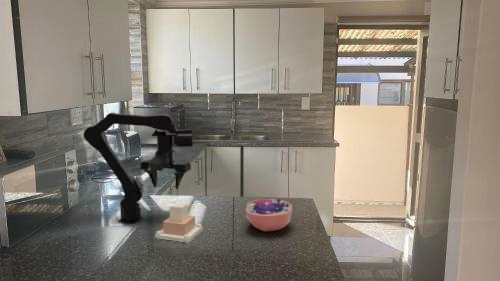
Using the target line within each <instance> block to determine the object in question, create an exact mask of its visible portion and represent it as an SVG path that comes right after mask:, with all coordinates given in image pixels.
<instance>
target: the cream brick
mask: <svg viewBox="0 0 500 281" xmlns="http://www.w3.org/2000/svg"><path fill="white" fill-rule="evenodd" d="M188 206H189V204H188V203H185V202H174V203H173V204H171V205H170V206H169V217H170V221H178V222H183V221H184V220H185V219H187V218H188V216H189V215H188V214H189V207H188Z"/></svg>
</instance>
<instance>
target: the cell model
mask: <svg viewBox="0 0 500 281" xmlns="http://www.w3.org/2000/svg"><path fill="white" fill-rule="evenodd" d="M245 212H246V219H247V220H248V221H249V222H250V224H251V225H252V226H253V227H254V228H256V229H258V230H259V231H261V232H273V231H278V230H282V229H283V228H285V227H286V226H287V225H288V224H289V222H290V221H291V217H292V214H293V213H292V212H293V205H292V204H291V203H289V202H288V201H286V200H283V199H280V198H268V199H267V198H266V199H255V200H252V201H248V202H247V203H246V208H245Z"/></svg>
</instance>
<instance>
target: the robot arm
mask: <svg viewBox="0 0 500 281" xmlns="http://www.w3.org/2000/svg"><path fill="white" fill-rule="evenodd" d="M114 125H124V126H125V125H126V126H127V125H128V126H139V127H142V126H143V127H149V128H152V129H155V130H154V132H152V133H151V137H156V142H157V143H156V144H157V145H156V146H157V147H156V150H155V153H154V156H152V158H150V159H146V160H143V161H141V162H140V165H139V169H140V170H143V172H144V173H147V174H148V176H149V178H150V180H151V183H152V185H153V187H154V188H156V187H157V185H158V172H162V171H164V169H171V170H174V171H175V172H174V173H173V174H174V176H175V190H178V189H179V187H180V184H181V182H182V180H183V177H184V175H185V173H188V172H189V171H191V170H192V164H191V163H190V162H187V161H180V162H178V163H175V159H174V153H175V148H174V145H175V146H176V147H177V148H193V132H192V129H191V128H187V129H178V127H176V126H175V125H174V123H173V119H172V117H171V116H170V115H169V114H167V113H161V114H159V113H158V114H152V115H143V114H142V115H141V114H140V115H139V114H127V113H116V112H109V113H108V114H107V115H106V116H105V117H104V118H102V119H101V120H100V121H98V123H96V124H94V125H93V124H92V126H89V127H86V129H85V130H84V131H83V139H84V141H86V142H87V143H88V144H89V145H90V146H91V147H92V148H93V149H95V150H97V152H98V153H99V154H100V156H101V157H102V158H103V160H104V161H105V162H106V164H107V166H108V167H109V168H110V170H111V171H112V172H113V174H114V175H115V177H116V178H117V180H118V181H119V183H120V184H121V189H122V191H123V194H124V195H123V197H122V198H121V200H120V203H119V205H120V219H118V222H120V223H124V224H125V223H126V224H134V223H137V222H138V221H139V220H142V218H143V216H142V213H141V207H140V203H138V202H139V201H141V200H142V198H143V195H144V184H143V183H142V182H141V180H140V178H139V176H136V178H134V177H133V176H132V175H131V174H130V173H129V172H128V170H127V169H126V167H125V166H124V164H123V163H122V162H121V159H120V157H118V155H117V154H116V152H115V151H114V150H113V148H112V147H111V145H110V144H109V143H110V142H109V140H108V136H107V134H106V132H107V131H108V130H109V129H110V128H111V127H112V126H114ZM167 132H168V133H167ZM173 137H174V138H173ZM173 139H174V140H173ZM173 144H174V145H173Z"/></svg>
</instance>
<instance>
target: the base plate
mask: <svg viewBox="0 0 500 281" xmlns="http://www.w3.org/2000/svg"><path fill="white" fill-rule="evenodd" d="M203 229H204V228H203V225H202V224H201V223H196V216H193V215H188V218H187V219H185V220H184V221H183V222H178V221H170V216H169V217H168V218H166V219H165V220H163V222H162V229H161V230H157V231H156V233H154V239H155V238H158V239H157V240H159V239H165V240H164V241H166V240H173V241H172V242H174V241H179V242H178V243H181V242H186V243H185V244H189V243H191V241H193V239H194V238H196V237H197V235H199V234H200V233H201V232H203ZM195 236H196V237H195ZM188 242H189V243H188Z"/></svg>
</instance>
